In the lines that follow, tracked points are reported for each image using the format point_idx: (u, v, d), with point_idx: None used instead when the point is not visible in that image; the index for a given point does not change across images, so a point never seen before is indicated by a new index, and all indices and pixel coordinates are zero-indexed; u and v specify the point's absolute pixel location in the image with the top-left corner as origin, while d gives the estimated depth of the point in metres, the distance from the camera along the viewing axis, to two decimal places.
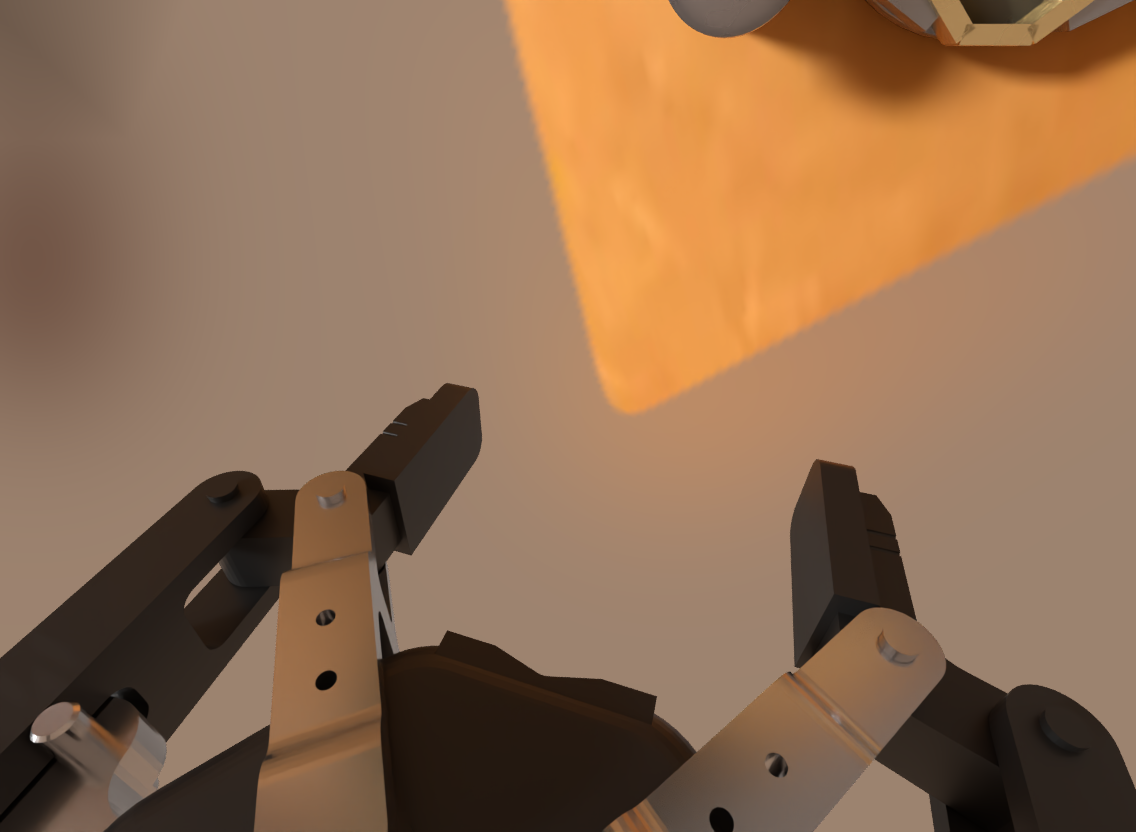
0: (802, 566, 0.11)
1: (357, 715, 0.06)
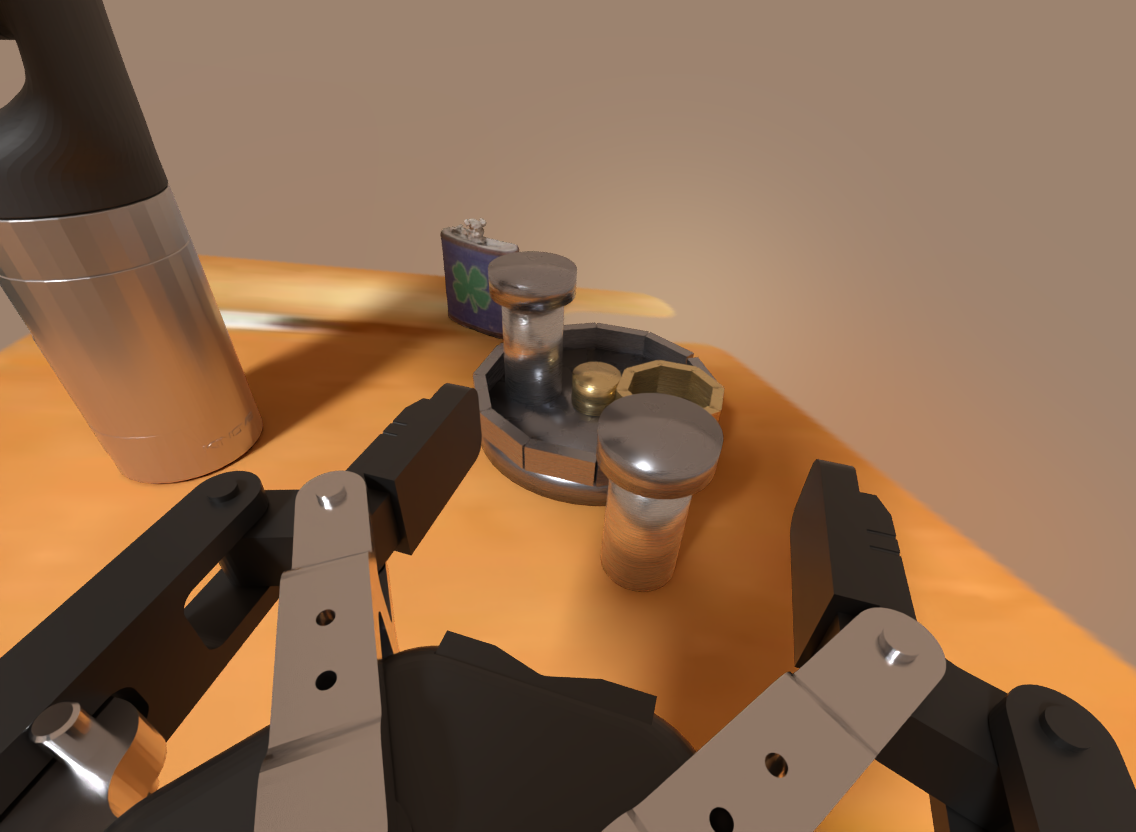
0: (802, 566, 0.11)
1: (357, 715, 0.06)
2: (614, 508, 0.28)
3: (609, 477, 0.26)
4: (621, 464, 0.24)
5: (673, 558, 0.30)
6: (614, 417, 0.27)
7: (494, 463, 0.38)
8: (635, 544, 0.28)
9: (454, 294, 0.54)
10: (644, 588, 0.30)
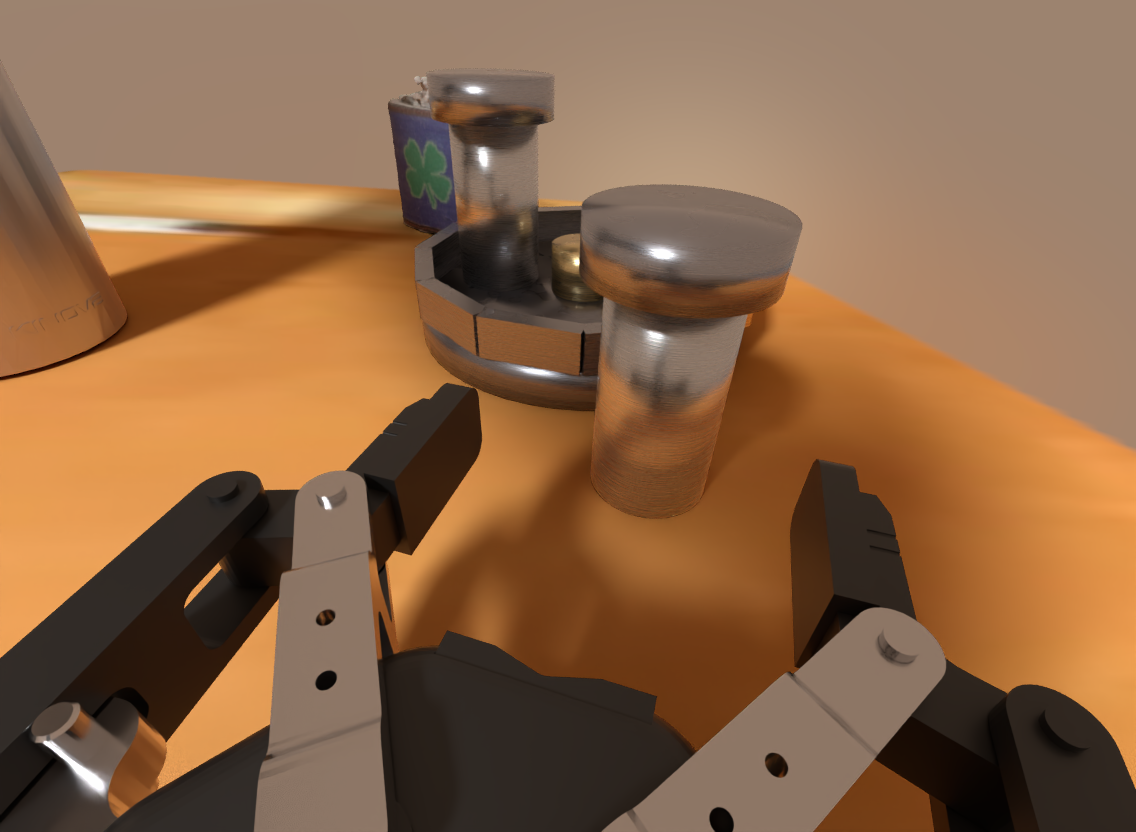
0: (802, 566, 0.11)
1: (357, 715, 0.06)
2: (611, 368, 0.17)
3: (601, 291, 0.14)
4: (623, 251, 0.13)
5: (705, 462, 0.18)
6: (610, 201, 0.16)
7: (441, 361, 0.27)
8: (646, 429, 0.17)
9: (408, 189, 0.43)
10: (660, 513, 0.19)
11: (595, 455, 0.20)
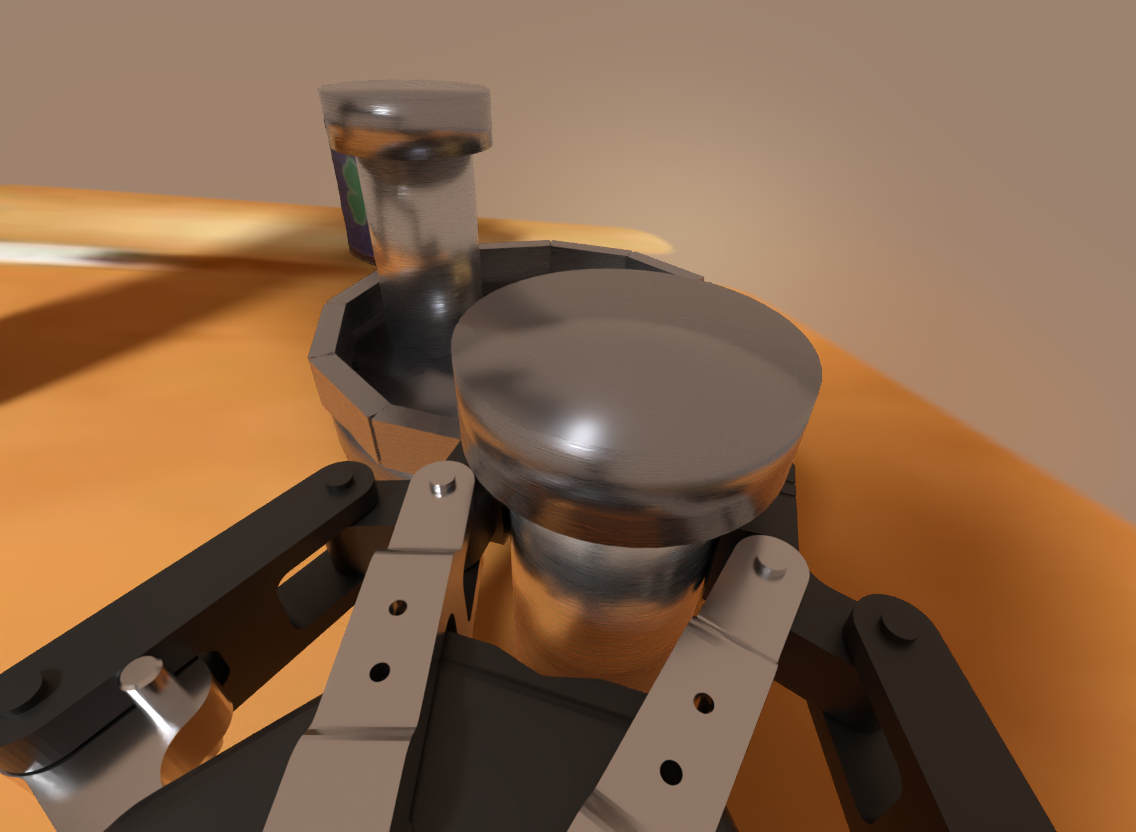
0: None
1: (357, 715, 0.06)
2: (520, 559, 0.11)
3: (481, 479, 0.09)
4: (501, 435, 0.07)
5: None
6: (508, 312, 0.10)
7: (347, 455, 0.21)
8: (575, 649, 0.11)
9: (350, 214, 0.37)
10: None
11: (516, 643, 0.14)
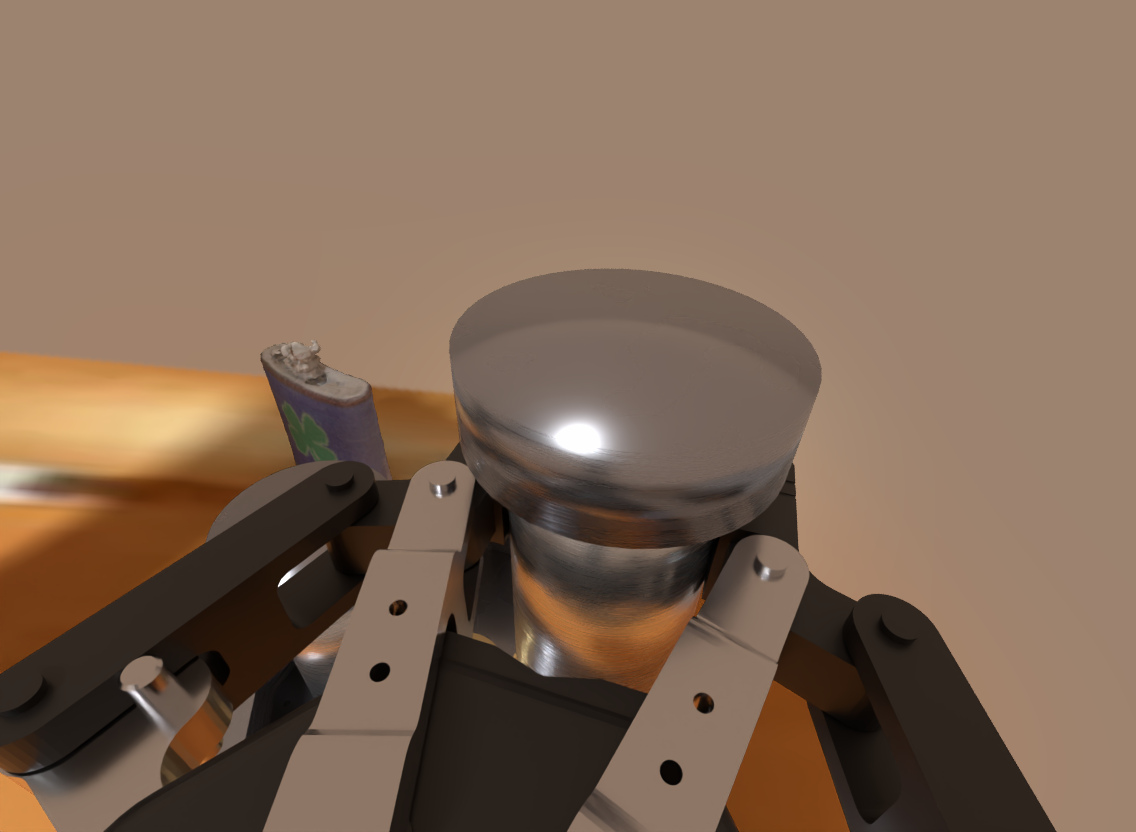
0: None
1: (357, 715, 0.06)
2: (520, 560, 0.11)
3: (479, 480, 0.09)
4: (499, 436, 0.07)
5: None
6: (506, 313, 0.10)
7: None
8: (575, 650, 0.11)
9: (293, 440, 0.35)
10: None
11: (516, 644, 0.14)
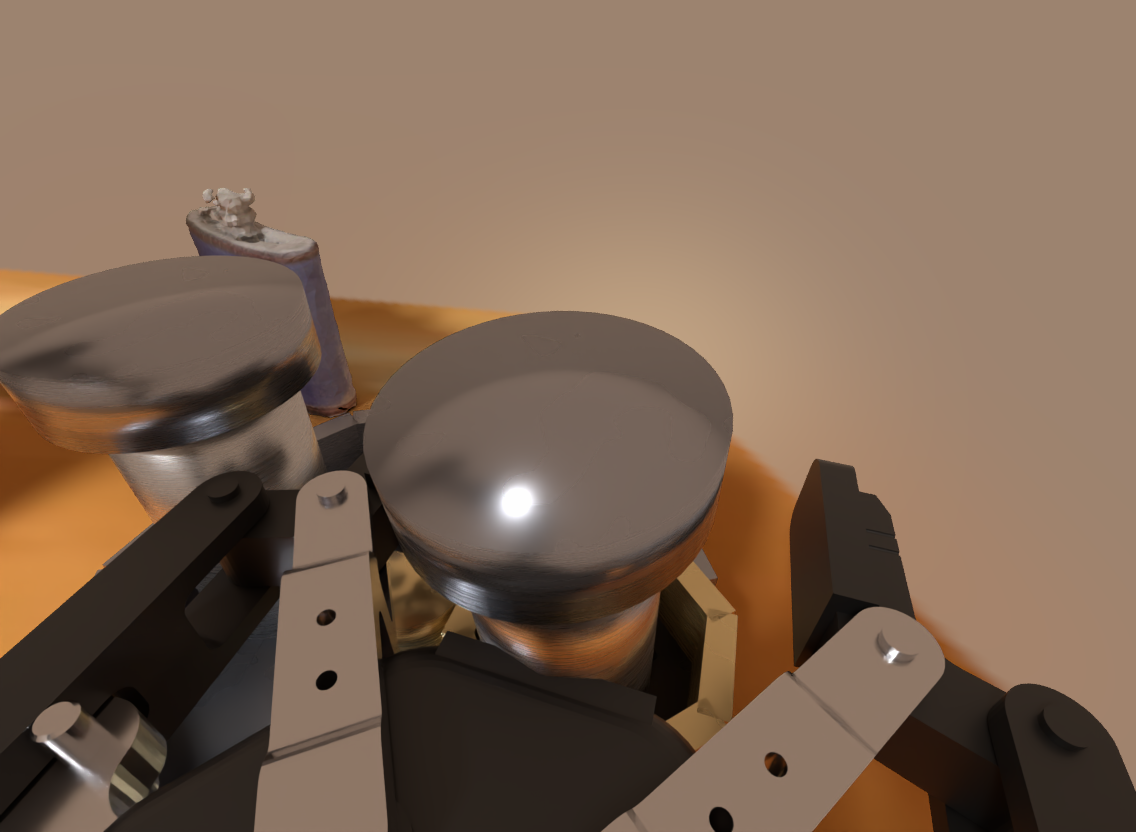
0: (801, 565, 0.11)
1: (357, 715, 0.06)
2: None
3: (404, 553, 0.09)
4: (403, 527, 0.08)
5: None
6: (429, 379, 0.10)
7: None
8: None
9: None
10: None
11: None
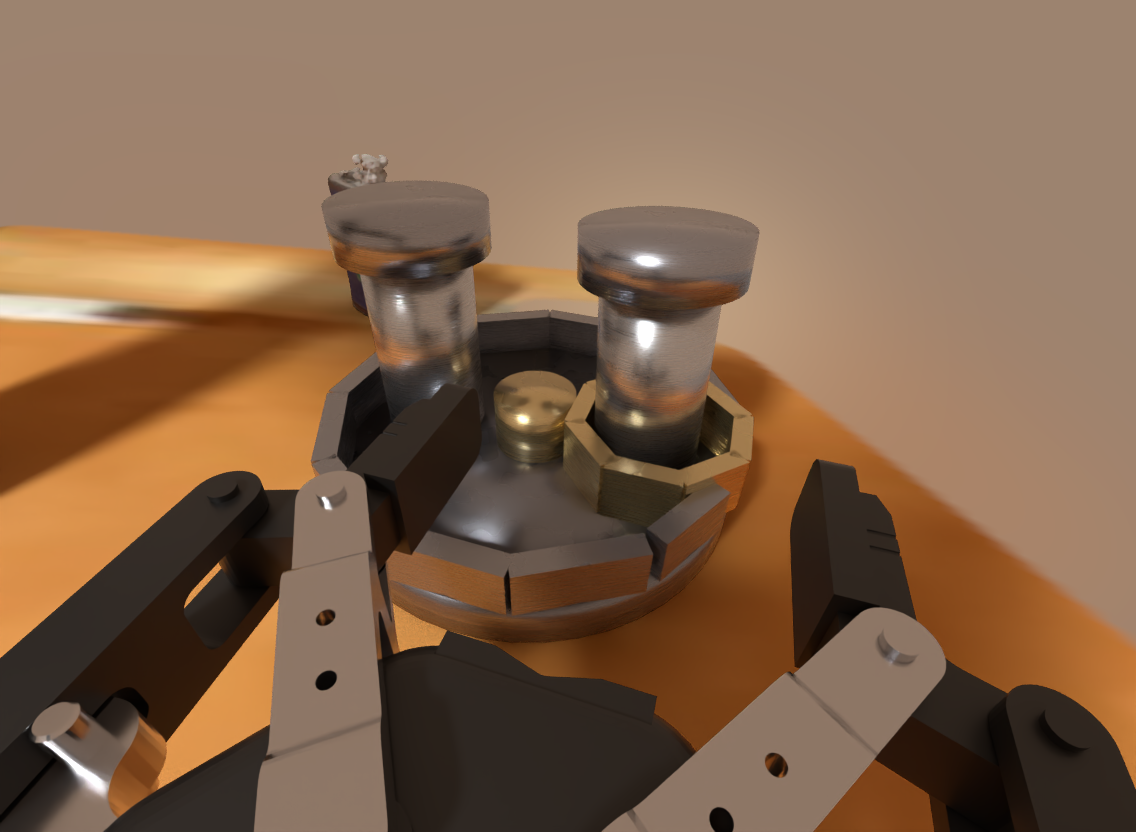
0: (802, 566, 0.11)
1: (357, 715, 0.06)
2: (606, 358, 0.20)
3: (593, 290, 0.18)
4: (609, 256, 0.17)
5: (691, 442, 0.21)
6: (602, 219, 0.19)
7: None
8: (636, 410, 0.20)
9: None
10: None
11: None
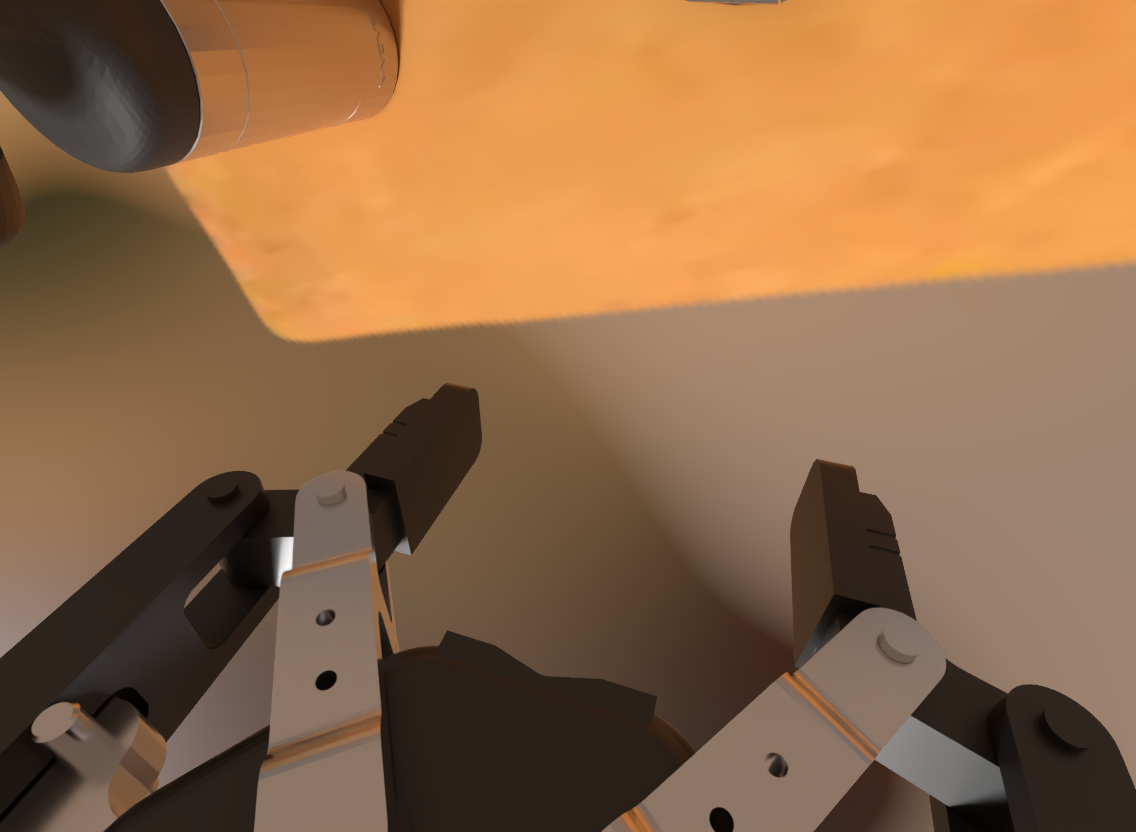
0: (802, 566, 0.11)
1: (357, 715, 0.06)
2: None
3: None
4: None
5: None
6: None
7: None
8: None
9: None
10: None
11: None
